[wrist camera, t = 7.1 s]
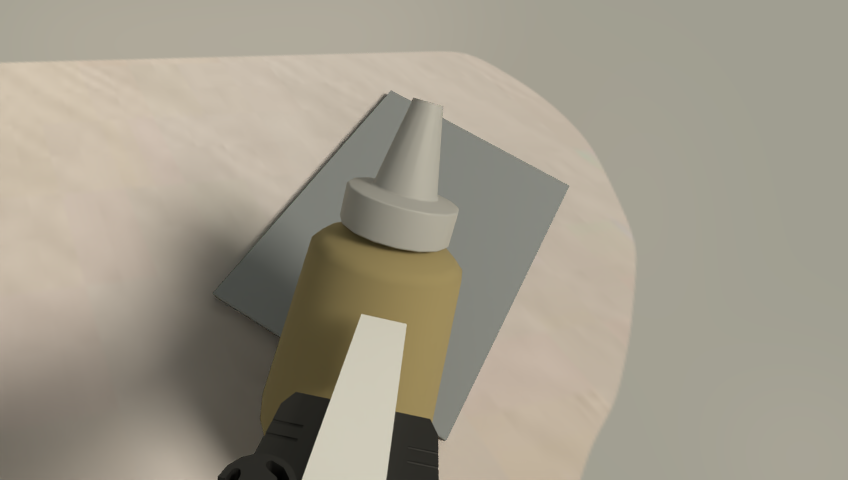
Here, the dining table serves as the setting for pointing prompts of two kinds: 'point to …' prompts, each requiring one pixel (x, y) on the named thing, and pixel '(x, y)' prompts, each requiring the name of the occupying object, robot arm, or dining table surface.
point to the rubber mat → (470, 246)
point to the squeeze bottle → (377, 276)
